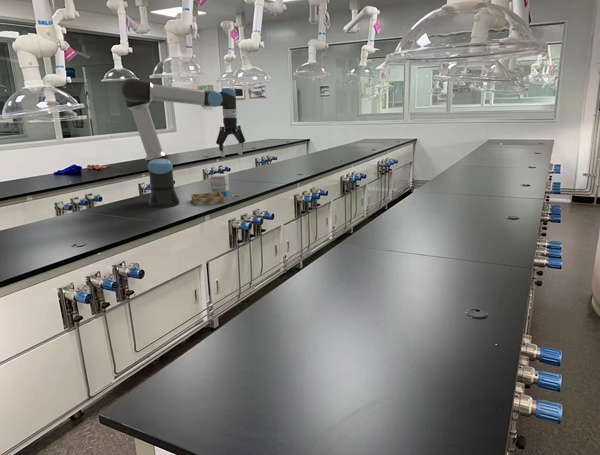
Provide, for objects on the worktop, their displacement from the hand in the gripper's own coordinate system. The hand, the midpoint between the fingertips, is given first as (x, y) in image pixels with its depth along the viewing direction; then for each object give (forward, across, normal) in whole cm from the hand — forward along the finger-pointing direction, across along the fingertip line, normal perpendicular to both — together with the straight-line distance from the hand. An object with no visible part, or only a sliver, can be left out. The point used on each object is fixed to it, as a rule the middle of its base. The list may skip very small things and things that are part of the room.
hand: (231, 155), depth 254 cm
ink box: (+22, -6, +4) cm, 23 cm away
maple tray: (+22, -22, -4) cm, 32 cm away
